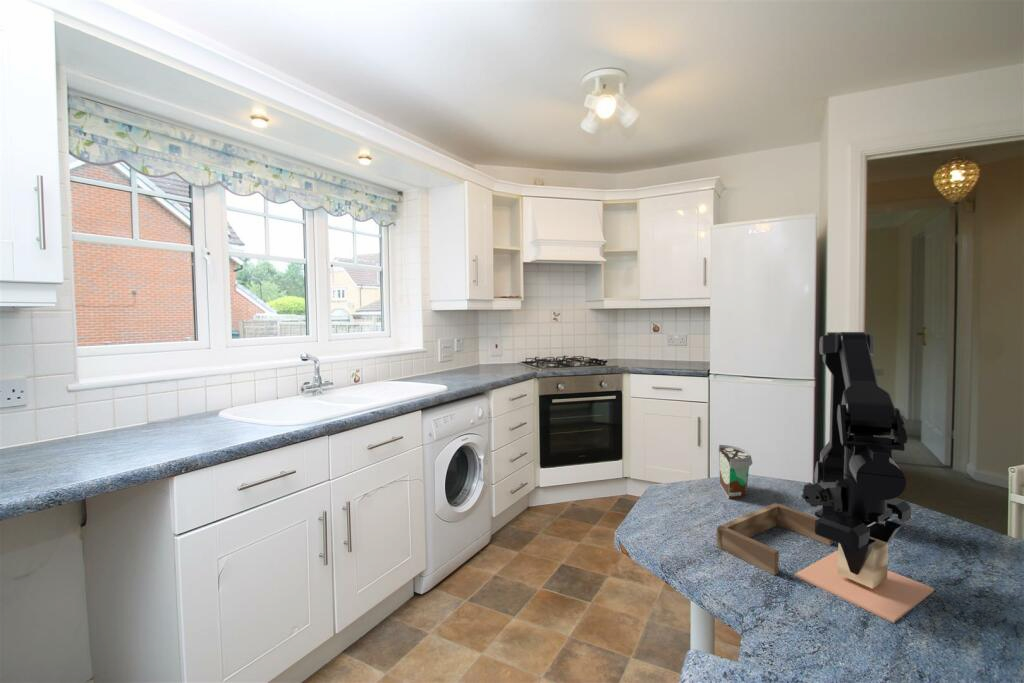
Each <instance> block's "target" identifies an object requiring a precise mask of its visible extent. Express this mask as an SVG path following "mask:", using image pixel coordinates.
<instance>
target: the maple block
mask: <svg viewBox="0 0 1024 683" xmlns="http://www.w3.org/2000/svg"><path fill="white" fill-rule="evenodd" d="M870 539H873V540H875V541H876V542H875V544H874V546H873V548H872V550H871V552H870V554H869V556H868V558H867V560H866V562H865V564H864V566H863V567H862V569H861V571H860V573H859V574H858V575H856V574H854V573H852V572H850V569H849V567H848V564H847V561H846V558H845V555H844V552H843V549H842V547H841V545H840V543H838V542H837V544H838V545H837V550H838V574H840V575H842V576H844V577H847V578H849V579H851V580H854V581H856V582H858V583H860V584H863V585H865V586H867V587H870V588H872V589H873V588H874V587H876V586H877V585H879V584H880V583H882V582H883V581H885V580H886V579H887V572H888V568H889V567H888V566H889V565H888V564H889V545H890V542H889V543H887V542H884V541H881V540H878V539H875V538H873V537H870Z"/></svg>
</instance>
